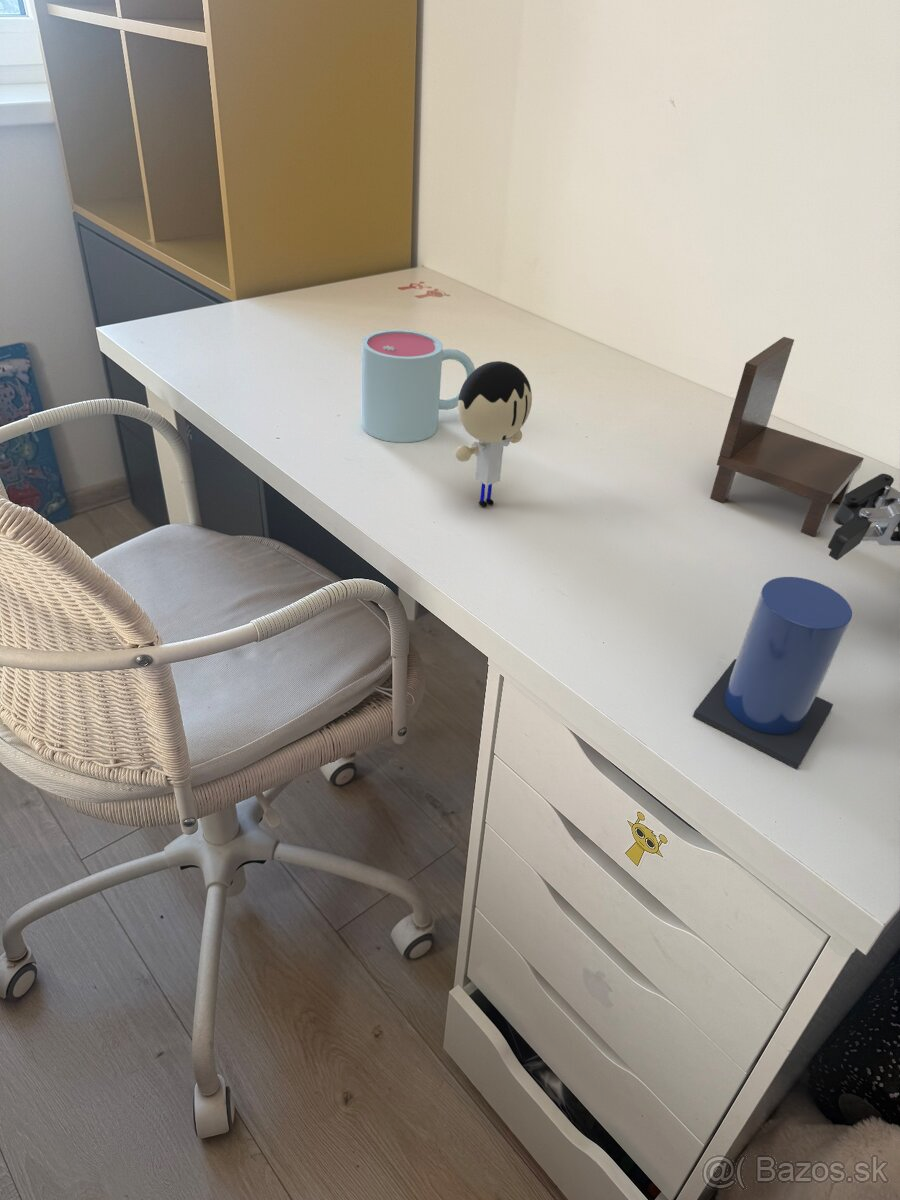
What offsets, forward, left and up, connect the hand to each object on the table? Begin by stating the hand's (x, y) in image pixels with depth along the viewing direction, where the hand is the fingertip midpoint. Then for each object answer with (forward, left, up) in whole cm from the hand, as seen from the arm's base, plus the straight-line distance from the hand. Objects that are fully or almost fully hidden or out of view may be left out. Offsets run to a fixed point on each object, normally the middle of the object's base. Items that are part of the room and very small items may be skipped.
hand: (886, 581), depth 62 cm
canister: (+4, +9, -9) cm, 13 cm away
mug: (+54, -12, -10) cm, 57 cm away
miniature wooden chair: (+14, -26, -9) cm, 31 cm away
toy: (+37, -2, -10) cm, 39 cm away
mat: (+3, +9, -9) cm, 13 cm away
